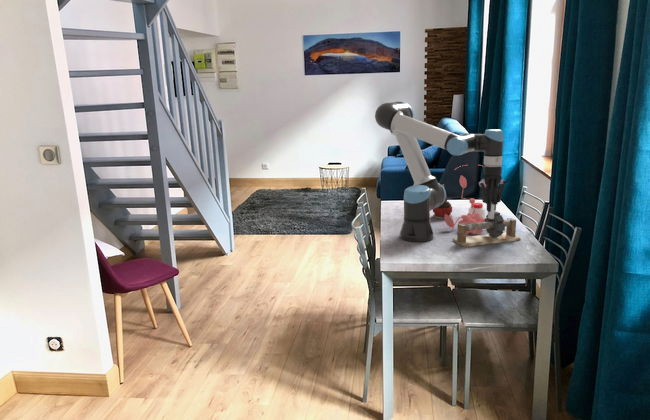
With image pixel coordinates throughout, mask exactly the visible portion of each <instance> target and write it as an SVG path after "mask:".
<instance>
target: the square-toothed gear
mask: <svg viewBox="0 0 650 420" xmlns="http://www.w3.org/2000/svg"><path fill="white" fill-rule="evenodd" d="M504 220H505V219H504V217H503V215H501V212H499V211H494V219H489V218H488V214H487V215H485V222H490V221H494V223H495V226H494V228H488V229H485V230H486V232H487V234H489V236H491V237H499V236H501V235H502V234H503V232H506V227H505V223H502V222H503V221H504Z"/></svg>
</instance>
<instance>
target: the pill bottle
mask: <svg viewBox="0 0 650 420" xmlns="http://www.w3.org/2000/svg"><path fill="white" fill-rule="evenodd" d="M473 206H474V209H475V212H474V210H473ZM473 206H472V204H471V203H470V207H469V208H468V213H471V214H473V212H474V214H475V213H479V215H480V218H484V219H485V218H486V209H485V207H484V204H483V202H482V203H481V202H475V203H473ZM474 214H473V215H474Z"/></svg>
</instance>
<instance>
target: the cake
mask: <svg viewBox="0 0 650 420" xmlns="http://www.w3.org/2000/svg"><path fill="white" fill-rule="evenodd" d="M441 185H442V186H443V187H444V188H445V184H444V183H443V184H441ZM432 213H433V215H432V217H433V218H435V219H441V220H443V219H444V215H445V214H446V215H448V216H450V217H451V218H452V217H453V215H452V213H453V206H452V204H451V202H449V201H448V196H447V195H446V198H445V201H444V203H443V204H442V205H440V206H439V207H438V208H435V209H433V210H432Z"/></svg>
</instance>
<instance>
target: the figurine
mask: <svg viewBox="0 0 650 420" xmlns="http://www.w3.org/2000/svg"><path fill="white" fill-rule="evenodd" d="M463 166H467V164H465V165H463ZM479 166H482V165H481V164H479ZM459 167H460V166H459ZM459 167H456V168H455V170H457V169H458V168H459ZM482 180H483V178H482V179H481V180H480V182H481V181H482ZM458 181H459V185H460V186H461V188H462V192H461V199H463V200H465V201H467V200H468V201H469V203H470V205H471V204H472V206H473V203H476V201H478V200H481V198H477V199H475V198H471V197H470V198H465V197H463V194H464V189H465V188H466V187H467V186H468V185H467V184H468V182H467V181H468V180H467V179H466V177H465V176H463V175H460V177H459V180H458ZM485 188H486V184H485ZM486 189H487V188H486ZM473 210H474V212H475V209H474V206H473ZM474 212H473V214H474ZM473 214H471V213H469V212H468V213H467V214H462V215H461V216H460V217H459V216H458V218H457V219H456V221H454V219H453V218H452V217H450V216H448V215H446V214H445V215H444V222H445V225H447V226H448V227H449V228H452V229H454V227H455V226H456V225H458V224H461V223H462V224H472V223H481V222H485V219H484V218H480V215H479V213H475V214H474V215H473ZM459 219H460V220H459ZM470 233H471V234H472V235H476V234H482V233H483V229H480V230H471V231H466V235H469V234H470Z"/></svg>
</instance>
